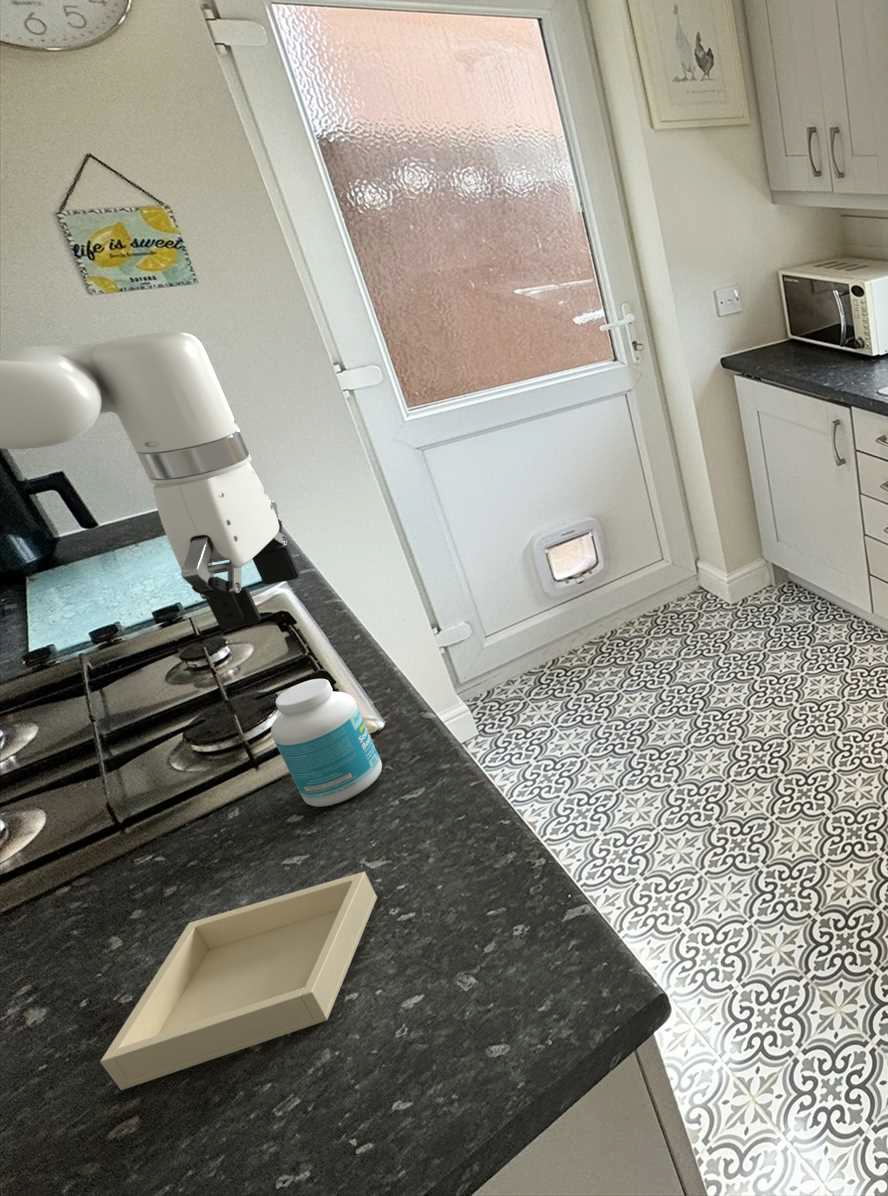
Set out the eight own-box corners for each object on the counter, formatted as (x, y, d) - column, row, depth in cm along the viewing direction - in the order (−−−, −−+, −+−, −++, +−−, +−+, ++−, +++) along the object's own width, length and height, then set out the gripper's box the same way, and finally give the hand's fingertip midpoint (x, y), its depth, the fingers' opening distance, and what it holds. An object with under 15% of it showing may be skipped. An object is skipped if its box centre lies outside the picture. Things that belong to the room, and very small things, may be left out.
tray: (120, 1090, 62) (99, 1061, 60) (205, 949, 73) (188, 922, 71) (327, 1020, 66) (311, 992, 65) (377, 897, 77) (365, 870, 76)
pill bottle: (395, 775, 92) (355, 683, 88) (320, 819, 87) (273, 723, 82) (368, 753, 96) (328, 663, 91) (294, 794, 90) (247, 700, 86)
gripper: (194, 436, 85) (256, 573, 91) (92, 496, 70) (175, 655, 76) (279, 424, 87) (334, 558, 93) (199, 480, 72) (271, 635, 78)
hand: (263, 601), depth 85 cm, fingers open, 9 cm apart
